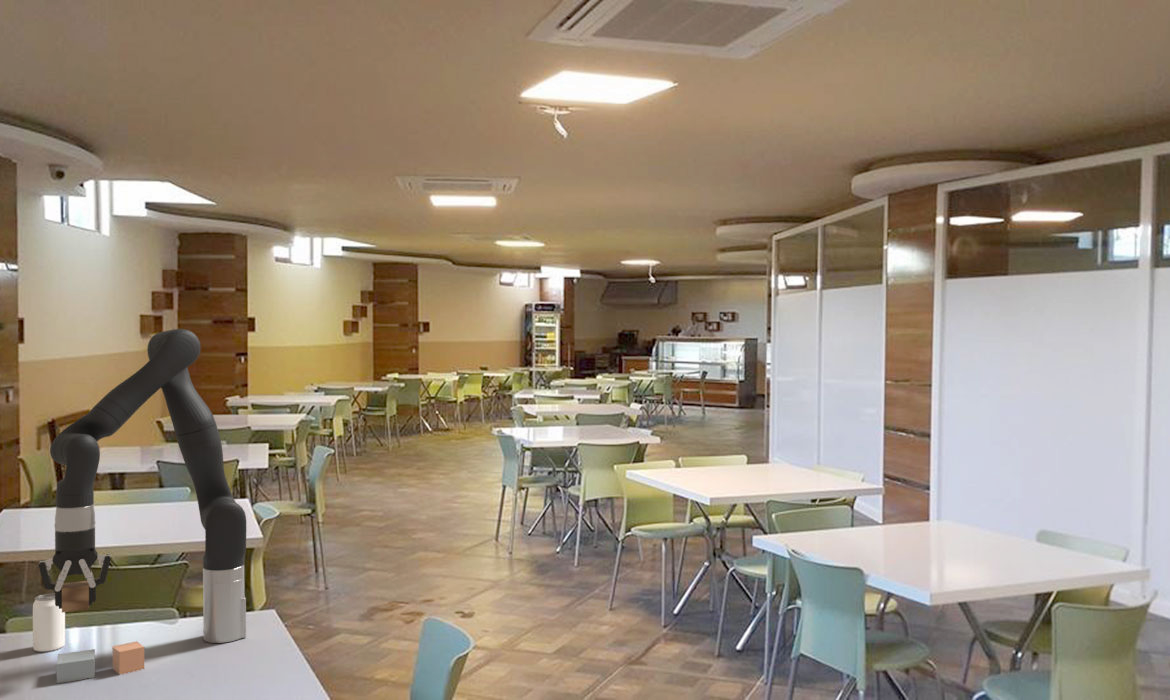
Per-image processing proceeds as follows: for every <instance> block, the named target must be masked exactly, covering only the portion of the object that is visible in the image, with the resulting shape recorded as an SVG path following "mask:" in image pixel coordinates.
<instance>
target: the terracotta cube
mask: <svg viewBox="0 0 1170 700" xmlns="http://www.w3.org/2000/svg"><path fill="white" fill-rule="evenodd" d="M112 669H114V672H115V673H117V672H118V673H119V674H122V675H125V674H124V673H126V674H129V673H128V672H130V673H134V672H133V671H135V672H138V671H137V670H139V671H142V670H141V669H144V670H145V646H144V645H143V644H141V643H140V642H139V641H138V640H136V641H132V642H127V643H123V644H117V645H114V646H112ZM118 673H117V674H118ZM119 674H118V675H119Z"/></svg>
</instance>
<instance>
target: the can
mask: <svg viewBox="0 0 1170 700" xmlns="http://www.w3.org/2000/svg"><path fill="white" fill-rule="evenodd" d="M32 641H33V642H32V649H33V651H35V652H37V653H48V652H55V651H58V650H61V649H62V648H64V646H65V645H66V612H63V613H62V609H59V606H56V605H55V592H54V593H45V594H40V595H37V596H35V597H34V602H33V604H32Z"/></svg>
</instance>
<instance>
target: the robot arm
mask: <svg viewBox="0 0 1170 700" xmlns="http://www.w3.org/2000/svg"><path fill="white" fill-rule="evenodd" d="M146 348H147V349H146V351H147V357H148V361H147V362H146V363H145V364H144V365H143V366H142V367H140V368H139V370H137V371H136V372H135V373H133V374H132V375H130V376H129V377H128V378H126V379H125V380H123V381H122V382H120V383H119V384H118V385H116V386H115V387H113V389H111V390H109V392H107V394H105V395H104V396H103V398H101V399H100V400H99V401H98V402H97V403H96V404H95V405H94V406H93V407H92V408H91V409H90V410H89V411H88V412H87V413H86V414H85V415H83V416H82V417H80V418H78V419H77V420H75V421H74V422H73V423H72V424H70V425H68V426H67V427H65V429H63V430H62V431H61V432H59V434H58V435H56V436H55V438H54V439H53V441H52V442H51V445H50V448H49V453H50V454H49V455H50V456H51V457H50V458H51V459H52V460H53V461H54V462H56V463H58V464H59V465H62V466H65V472H64V478H62V479H60V480H59V481H58V482H57V484H56V489H55V490H56V493H55V496H56V497H55V498H56V501H55V503H56V506H55V516H54V555H52V558H49V559H46V560H43V559H42V560H40V561H39V562H38V569H39V572H40V576H41V579H42V583H43V586H44V588H45V590H47V591H48V590H51V591H53V592H54V593H55V605H56V606H59V609H62V585H63V583H65V581H66V578H67V576H68V577H69V576H73V575H84V578H85V579H86V581H88V584H89V606H93V603H95V602H96V600H97V586H99V585H102V584H105V582H106V579H107V576H108V571H109V567H110V563H111V560H112V555H111V554H109V553H106V554H99V553H98V551H97V549H96V513H95V505H94V503H95V502H94V501H95V499H94V496H95V495H94V484H95V480H96V477H97V473H98V468H99V465H100V461H101V460H100V458H101V457H100V456H101V449H100V445H99V443H98V441H100V440H102V439H105V438H107V437H108V438H109V437H111V436H113V435H114V434H115V433H116V432H118V431H119V430H120V429H121V428H122V426H124V425H125V424H126V423H127V421H128V420H129V419H131V417H132V416H133V415H134V414H135V413H136V412H137V411H138V410H139V409H140V408H141V407H142V406H143V405H144V404H145V403H146V402H147V401H148V400H149V399H150V398H151V397H153V395H155V394H156V393H157V392H158V391H159V390H161V391H162V394H163V396H164V400H165V403H166V406H167V411H168V413H169V416H170V420H171V424H172V427H173V431H174V434H175V438H176V440H177V444H178V447H179V450H180V454H181V456H182V459H183V461H184V464H185V467H186V469H187V471H188V473H189V476H190V479H191V480H192V483H193V487H194V490H195V494H196V495H195V496H196V500H197V504H198V511H199V516H200V517H199V518H200V522H201V525H202V527H203V529H204V531H205V533H204V534H205V535H204V536H205V540H204V541H205V542H204V543H205V551H204V555H203V558H202V585H203V587H202V593H203V595H202V596H203V597H202V599H203V602H202V603H203V604H202V607H203V609H202V610H203V615H202V616H203V628H202V629H203V630H202V631H203V641H205V643H206V642H207V643H212V644H218V643H219V644H221V643H229V642H234V641H237V640H241V639H245V638H247V603H246V602H247V598H246V596H245V555H246V552H247V516H246V512H245V510H244V509H243V507H242V506H241V505H240V504H238V503H237V502H236V500H235V497H234V496H233V494H232V491H231V488H230V486H229V483H228V480H227V478H226V475H225V468H224V467H225V466H224V453H223V445H222V440H221V436H220V433H219V429H218V426H217V423H216V422H217V421H216V420H215V417H214V415H213V413H212V411H211V410H210V408H209V406H208V405H207V404H206V403H205V401H204V400H203V398H202V397H201V395H199V393H198V391H197V390H196V388H195V386H194V384H193V382H192V379H191V376H190V372H189V369H188V368H189V366H191V365H193V364H194V363H195V362H196V361H197V360H198V358H199V356H200V353H201V348H202V347H201V341H200V340H199V337H198V336H197V334H195V333H194V332H193V331H191V330H188V329H182V328H175V329H169V330H164V331H160V332H157V333H155V334H154V335H152V336H151V338H150V339H149V341H148V344H147V347H146ZM97 560H98V561H99V562H98V563H99V564H98V565H100V566H101V569H100V573H99V576H98V577H96V578H95V576H94V574H93V572H92V569H91V568H92V566H93V565H94V563H95V562H96V561H97ZM52 565H55V567H57V569H58V570H59V571H60V572H59V575H58V578H57V580H56V582H52V579H51V576H50V572H49V571H50V570H51V568H52Z"/></svg>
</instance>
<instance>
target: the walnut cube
mask: <svg viewBox="0 0 1170 700" xmlns="http://www.w3.org/2000/svg"><path fill="white" fill-rule="evenodd" d="M89 609H90V605H89V584H88V581H87V580H82V581H73V582H72V581H71V582H64V583H63V585H62V613H63V612H65V613H68V612H76V611H77V612H79V611H88V610H89Z"/></svg>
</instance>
